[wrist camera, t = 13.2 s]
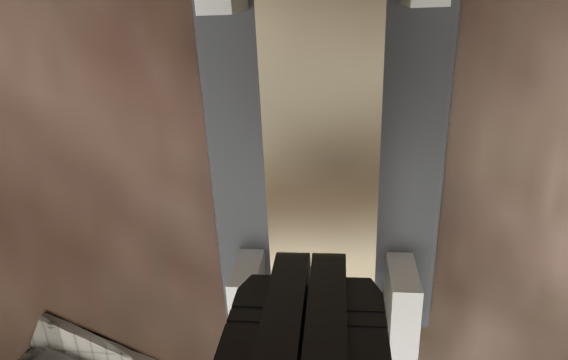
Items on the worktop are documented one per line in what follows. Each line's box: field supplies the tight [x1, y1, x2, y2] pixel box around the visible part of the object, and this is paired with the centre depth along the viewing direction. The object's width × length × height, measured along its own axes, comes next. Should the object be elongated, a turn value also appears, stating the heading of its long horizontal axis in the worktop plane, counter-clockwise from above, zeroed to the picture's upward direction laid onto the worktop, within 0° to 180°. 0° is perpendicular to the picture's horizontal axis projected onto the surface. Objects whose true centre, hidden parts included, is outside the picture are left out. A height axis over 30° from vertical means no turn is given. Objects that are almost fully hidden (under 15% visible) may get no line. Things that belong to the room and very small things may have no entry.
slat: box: [254, 0, 387, 283], centre depth 17 cm, size 14×4×5 cm, turn 3°
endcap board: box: [191, 0, 461, 360], centre depth 19 cm, size 19×10×4 cm, turn 3°
